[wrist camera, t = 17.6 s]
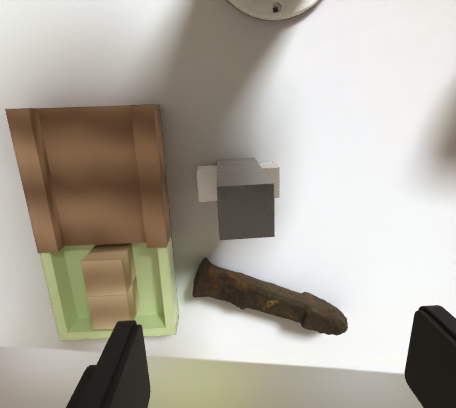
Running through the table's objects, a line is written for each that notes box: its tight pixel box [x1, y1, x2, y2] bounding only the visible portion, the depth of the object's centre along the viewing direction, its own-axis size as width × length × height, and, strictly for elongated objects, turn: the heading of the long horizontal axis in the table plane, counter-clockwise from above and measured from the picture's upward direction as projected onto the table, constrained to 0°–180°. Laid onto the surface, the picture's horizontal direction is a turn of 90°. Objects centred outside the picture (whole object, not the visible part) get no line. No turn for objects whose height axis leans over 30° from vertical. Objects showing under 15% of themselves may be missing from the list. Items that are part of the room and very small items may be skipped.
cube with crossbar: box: [196, 158, 279, 240], centre depth 28 cm, size 4×8×12 cm, turn 93°
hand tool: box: [193, 258, 348, 335], centre depth 36 cm, size 19×4×5 cm, turn 68°
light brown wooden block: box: [87, 276, 140, 330], centre depth 35 cm, size 4×4×4 cm
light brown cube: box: [81, 243, 136, 297], centre depth 33 cm, size 4×4×4 cm
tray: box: [40, 237, 179, 341], centre depth 35 cm, size 11×13×3 cm
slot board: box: [5, 104, 171, 253], centre depth 31 cm, size 14×13×4 cm
